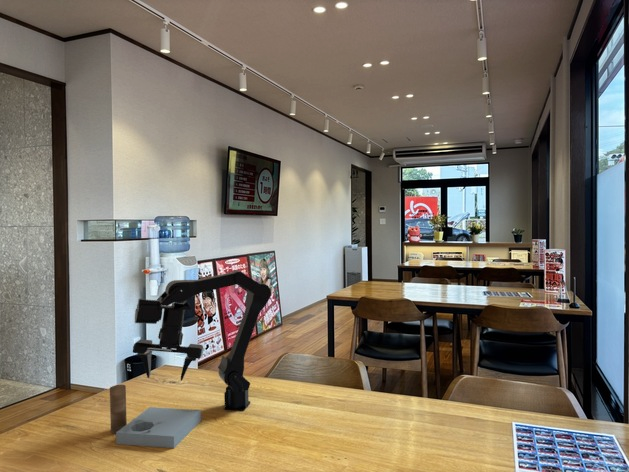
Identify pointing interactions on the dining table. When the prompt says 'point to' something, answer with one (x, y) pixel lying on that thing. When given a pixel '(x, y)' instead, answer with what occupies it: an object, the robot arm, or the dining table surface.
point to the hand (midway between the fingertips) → (165, 378)
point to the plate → (159, 427)
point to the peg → (117, 407)
